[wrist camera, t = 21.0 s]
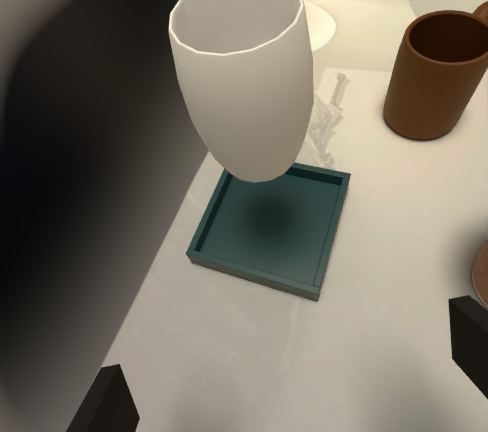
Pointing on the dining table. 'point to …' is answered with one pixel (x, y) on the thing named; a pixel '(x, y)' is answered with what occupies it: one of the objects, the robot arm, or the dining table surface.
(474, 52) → the mug
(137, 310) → the dining table surface
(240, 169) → the cup
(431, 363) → the dining table surface
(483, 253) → the coffee cup
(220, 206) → the cup tray
